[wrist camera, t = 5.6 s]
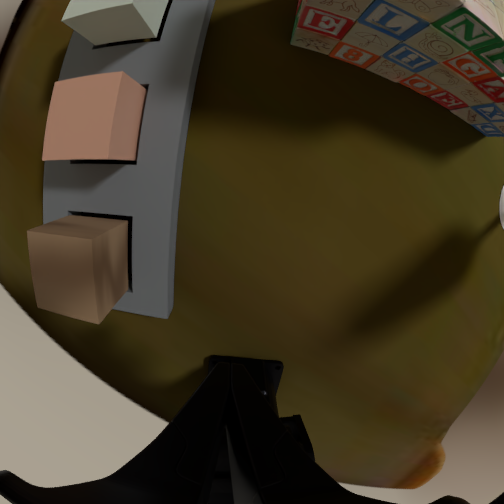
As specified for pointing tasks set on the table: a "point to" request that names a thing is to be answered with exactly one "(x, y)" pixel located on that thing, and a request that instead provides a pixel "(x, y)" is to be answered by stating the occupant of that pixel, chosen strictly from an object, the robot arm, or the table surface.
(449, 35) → the stack of blocks
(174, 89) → the key board
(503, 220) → the champagne flute
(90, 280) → the walnut key
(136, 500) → the robot arm
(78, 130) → the salmon pink cube
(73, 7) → the pale green cube
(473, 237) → the table surface
